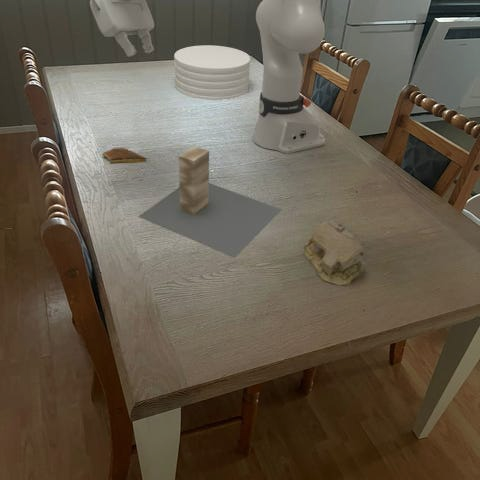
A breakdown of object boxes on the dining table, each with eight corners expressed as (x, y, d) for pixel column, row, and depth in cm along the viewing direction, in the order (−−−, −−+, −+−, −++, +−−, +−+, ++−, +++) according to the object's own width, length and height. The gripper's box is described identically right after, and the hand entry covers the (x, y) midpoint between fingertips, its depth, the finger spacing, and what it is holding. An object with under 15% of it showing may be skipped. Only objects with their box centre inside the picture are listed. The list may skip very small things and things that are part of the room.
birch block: (180, 209, 110) (178, 155, 101) (194, 197, 114) (194, 146, 106) (194, 214, 109) (193, 161, 100) (208, 203, 113) (209, 150, 104)
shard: (147, 163, 129) (147, 157, 128) (126, 173, 124) (126, 167, 123) (120, 150, 134) (120, 145, 133) (99, 160, 129) (98, 154, 128)
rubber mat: (138, 218, 107) (138, 216, 107) (193, 179, 122) (193, 177, 122) (234, 259, 97) (234, 257, 97) (281, 211, 113) (281, 209, 112)
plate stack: (248, 102, 167) (250, 70, 160) (170, 98, 167) (169, 65, 160) (248, 76, 190) (250, 47, 183) (179, 72, 189) (179, 43, 182)
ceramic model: (374, 272, 97) (386, 234, 91) (335, 292, 91) (345, 252, 85) (328, 237, 106) (336, 200, 100) (290, 252, 100) (296, 214, 94)
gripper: (98, -23, 87) (133, 50, 92) (143, -17, 105) (170, 44, 109) (73, -7, 89) (107, 64, 94) (121, -4, 107) (148, 55, 112)
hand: (141, 53), depth 102 cm, fingers open, 8 cm apart
